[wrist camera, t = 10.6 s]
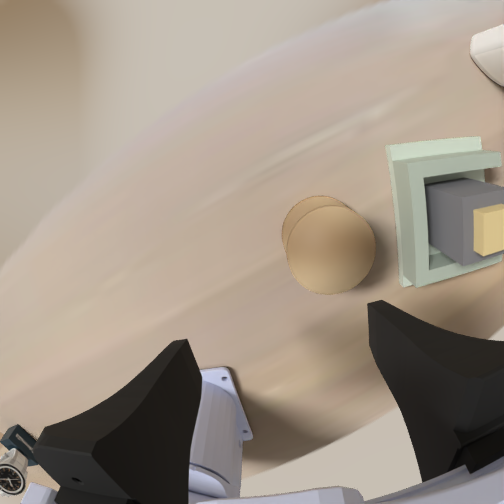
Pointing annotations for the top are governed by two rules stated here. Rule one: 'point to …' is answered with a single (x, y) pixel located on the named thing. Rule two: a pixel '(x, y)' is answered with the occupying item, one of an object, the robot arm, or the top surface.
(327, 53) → the top surface
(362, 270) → the spool
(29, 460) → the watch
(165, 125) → the top surface
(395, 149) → the notched board
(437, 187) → the plug
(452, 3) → the top surface
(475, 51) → the eye dropper bottle
